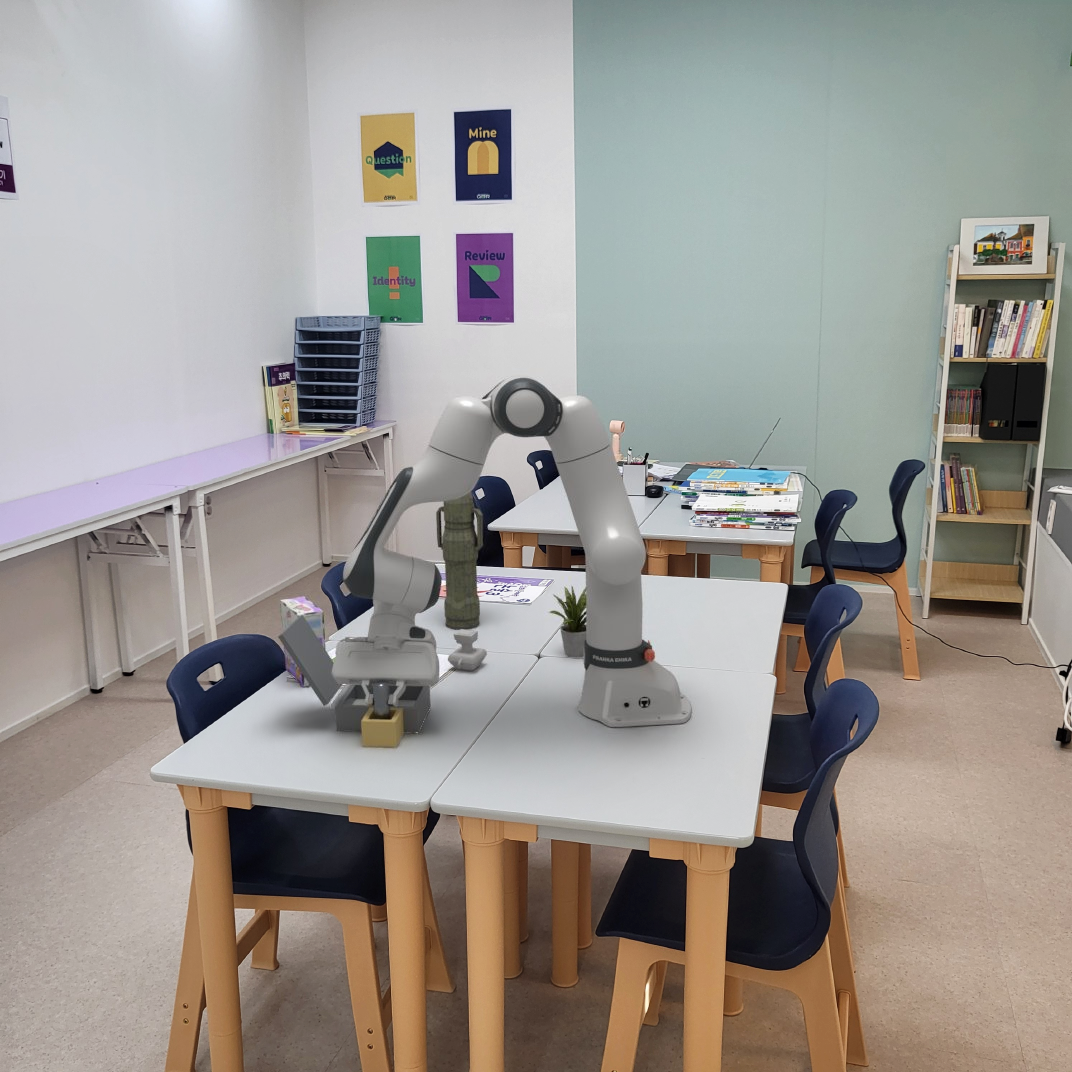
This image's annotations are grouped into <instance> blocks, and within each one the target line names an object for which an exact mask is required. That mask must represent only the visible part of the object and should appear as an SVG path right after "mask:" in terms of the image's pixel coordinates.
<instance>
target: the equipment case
mask: <svg viewBox="0 0 1072 1072" xmlns="http://www.w3.org/2000/svg"><path fill="white" fill-rule="evenodd" d="M396 690H397V686H396V685H389V695H393V694H394V692H395V691H396ZM368 691H369V693H370V694H373V685H372V687H371V689H368ZM365 698H366V694H365V692H364V689H363V687H362V684H344V686H343V688H342V689H341V690H340V691H339V693H338V694H337V696H336V697H335V698H334V699H333V701H332V703H330V709H332V710H334V712H335V727H336V728H335V729H336V731H337V732H362V729H361V721H362V719H363V717H364V716H365V714H366V713H367V711H368V710H369V708H370V707H373V708H374V706H366V704H365ZM430 707H431V686H416V685H406V689H405V691H404V692H403V694H402V695H401V696H400V698H398V704H397V706H390V708H403V722H404V732H419V733H420V731H421V729H422V727H421V726H423V725H422V724H424V722H425V720H426V718H427V716H428V714H429V712H430V710H431V708H430ZM429 709H430V710H429ZM428 711H429V712H428ZM427 713H428V714H427ZM426 715H427V716H426ZM425 717H426V718H425ZM424 719H425V720H424ZM423 721H424V722H423ZM420 728H421V729H420ZM419 730H420V731H419Z"/></svg>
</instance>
